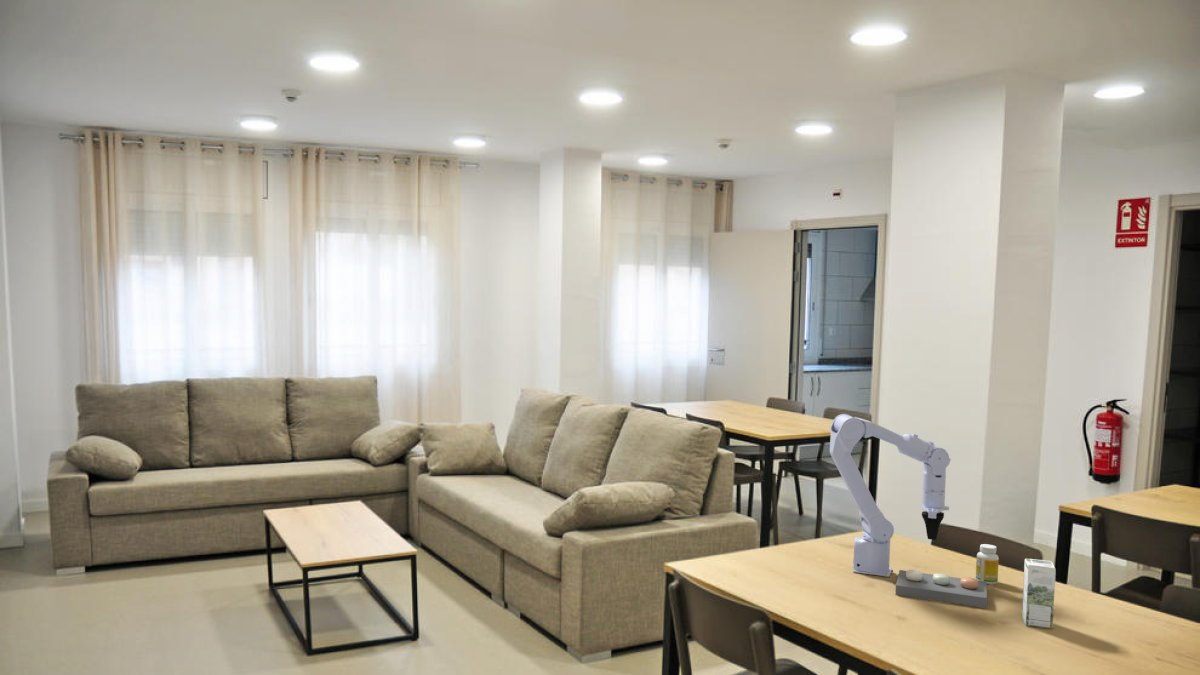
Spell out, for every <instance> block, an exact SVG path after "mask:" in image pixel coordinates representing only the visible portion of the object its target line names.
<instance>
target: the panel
mask: <svg viewBox="0 0 1200 675" xmlns="http://www.w3.org/2000/svg"><path fill="white" fill-rule="evenodd" d="M906 571H907V570H902V569H899V571H898V575H897V579H896V583H895V596H899V595H900V597H907V598H913V599H920V600H921V599H922V600H927V601H934V602H940V601H942V602H941V603H947V602H949V603H948V604H954V603H957V604H956V605H961V604H963V605H962V606H968V607H973V608H976V607H977V608H982V609H987V608H988V592H987V584H986V582H985V581H978V588H976V589H966V588H965V587H962V586H961V585H960V584H961V578H962V577H953V576H950V584H948V585H945V586H944V585H937V583H934V582H933V574H934V573H933V574H932V573H925V572H922V573H923V579H922V581H918V582H915V581H910V580H909V579H907V578H906Z"/></svg>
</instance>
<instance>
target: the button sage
mask: <svg viewBox="0 0 1200 675" xmlns="http://www.w3.org/2000/svg"><path fill="white" fill-rule="evenodd" d="M950 577H951V576H950V575H948V574H945V573H933V582H934V583H937V585H944V586H945V585H948V584H950Z"/></svg>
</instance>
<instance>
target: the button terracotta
mask: <svg viewBox="0 0 1200 675" xmlns="http://www.w3.org/2000/svg"><path fill="white" fill-rule="evenodd" d="M960 578H961V584H960V585H961V586H962V587H965V588H966V589H976V588H978V580H976V578H975V577H974V578H973V577H968V576H965V577H960Z"/></svg>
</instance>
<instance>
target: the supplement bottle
mask: <svg viewBox="0 0 1200 675" xmlns="http://www.w3.org/2000/svg"><path fill="white" fill-rule="evenodd" d="M996 553H997V546H996V545H993V544H987V543H983V544H982V543H981V544H980V546H979V551H978V552H977V554H976V564H975V579H976V580H978V581H985V582H986V585H996V584H998V582H999V581H998V580H999V561H1000V560H999V559H1000V558H999V555H998V554H996Z"/></svg>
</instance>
